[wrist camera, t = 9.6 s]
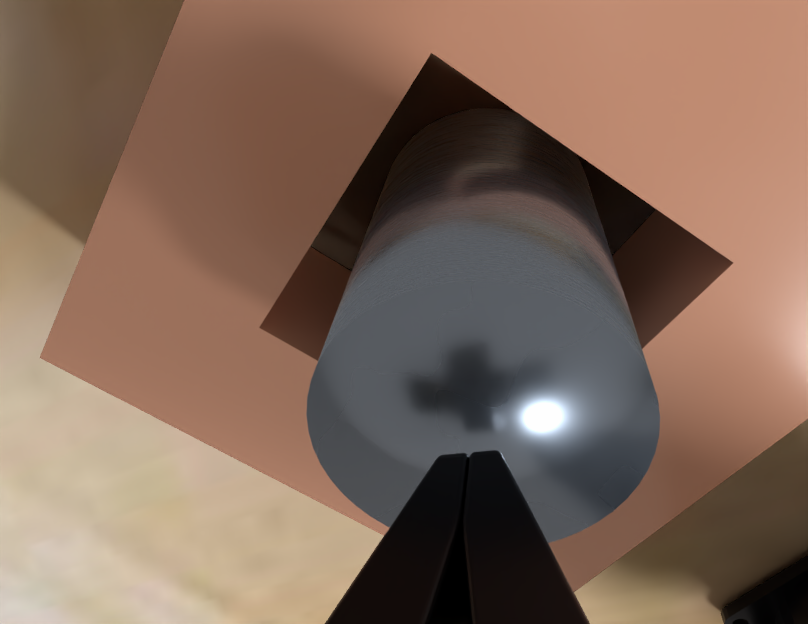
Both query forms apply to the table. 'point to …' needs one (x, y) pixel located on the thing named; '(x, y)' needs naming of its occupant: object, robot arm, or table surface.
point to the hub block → (347, 149)
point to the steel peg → (485, 332)
